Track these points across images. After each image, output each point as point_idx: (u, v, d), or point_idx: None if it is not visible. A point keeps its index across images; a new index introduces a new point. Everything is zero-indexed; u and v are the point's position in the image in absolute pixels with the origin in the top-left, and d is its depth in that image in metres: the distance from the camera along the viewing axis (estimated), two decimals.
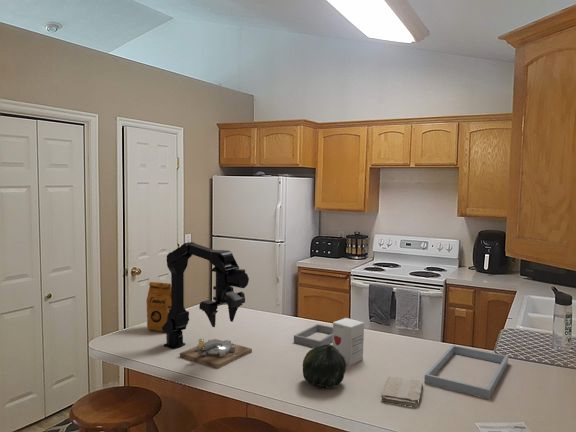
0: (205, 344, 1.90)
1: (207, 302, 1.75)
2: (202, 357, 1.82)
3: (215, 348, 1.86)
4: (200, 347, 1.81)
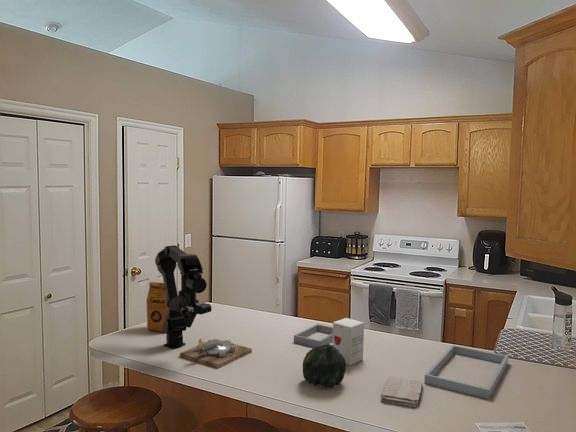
0: (205, 344, 1.90)
1: None
2: (202, 357, 1.82)
3: (215, 348, 1.86)
4: (200, 347, 1.81)
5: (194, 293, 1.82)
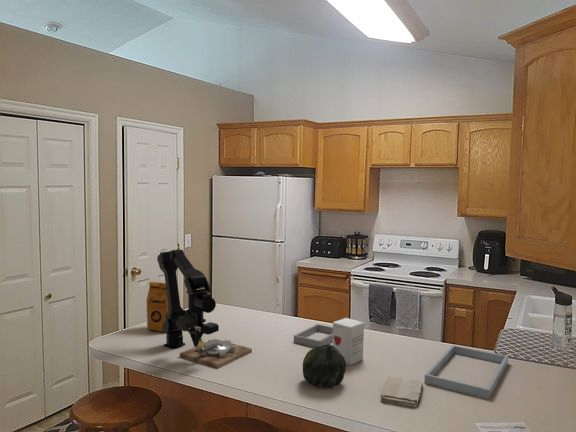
0: (205, 344, 1.90)
1: (180, 317, 1.87)
2: (202, 357, 1.82)
3: (215, 348, 1.86)
4: (200, 347, 1.81)
5: (201, 312, 1.81)
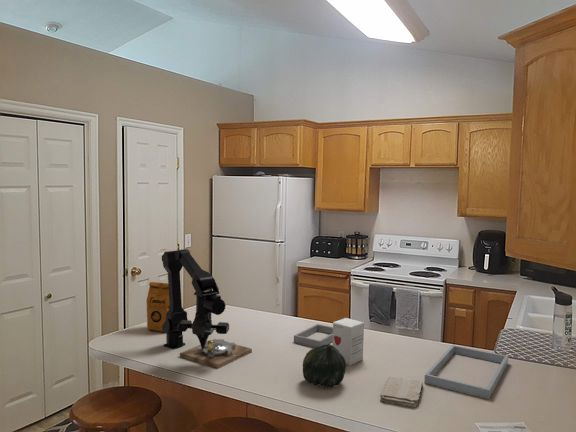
0: None
1: (183, 322, 1.80)
2: (202, 357, 1.82)
3: (219, 348, 1.86)
4: (210, 348, 1.80)
5: None
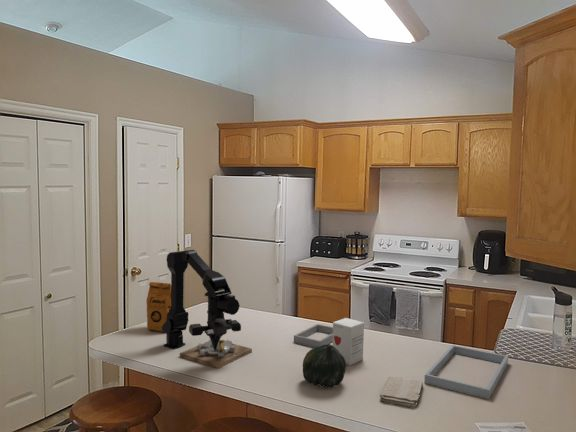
0: (206, 348, 1.86)
1: (194, 325, 1.76)
2: (202, 357, 1.82)
3: None
4: (223, 348, 1.80)
5: None
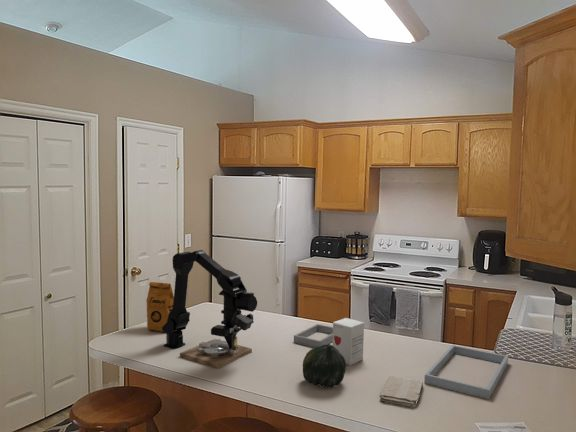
0: (213, 349, 1.84)
1: (219, 327, 1.75)
2: (202, 357, 1.82)
3: None
4: None
5: None
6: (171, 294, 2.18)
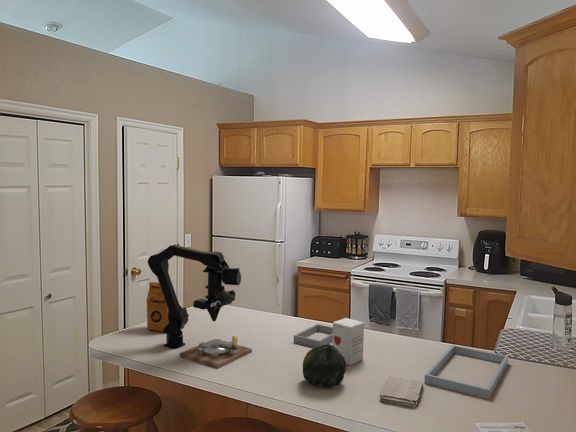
0: (213, 349, 1.84)
1: (201, 300, 1.87)
2: (202, 357, 1.82)
3: None
4: None
5: None
6: None
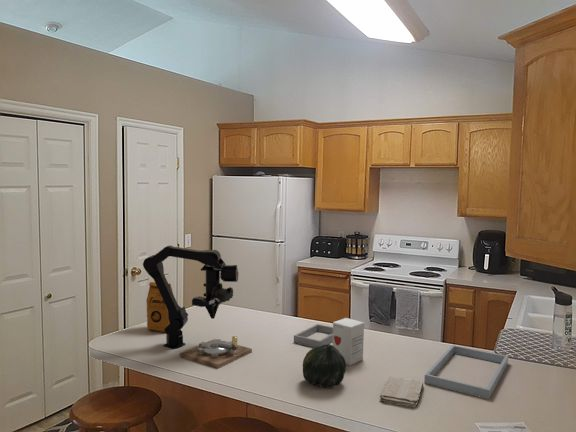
0: (213, 349, 1.84)
1: (199, 298, 1.89)
2: (202, 357, 1.82)
3: None
4: None
5: None
6: None
